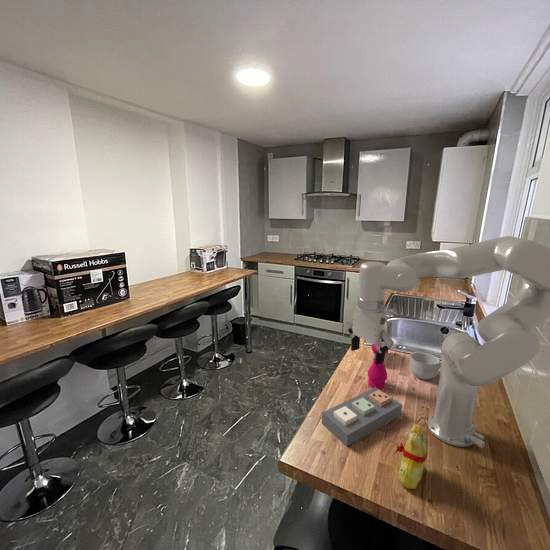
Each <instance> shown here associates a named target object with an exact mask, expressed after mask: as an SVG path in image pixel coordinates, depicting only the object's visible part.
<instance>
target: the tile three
mask: <svg viewBox="0 0 550 550" xmlns="http://www.w3.org/2000/svg"><path fill="white" fill-rule="evenodd" d="M386 394H387V393H385V392H384V393H383V391H382V390H377V391H375V392H373V393H371V394H369V400H371V401H372V402H373V403H375V404H376V405H378V406H379V407H383V406H385V405H387V404H389V403H390V402H391V398H392V397H391V396H390V395H389V394H387V395H386ZM389 396H390V397H389Z"/></svg>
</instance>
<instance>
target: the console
mask: <svg viewBox="0 0 550 550" xmlns="http://www.w3.org/2000/svg"><path fill="white" fill-rule="evenodd" d="M377 390H379V389H377V388H376V387H375V388H371V389H369V390H367V391H364V392H362V393H361V394H358V395H356V396H354V397H351V398H350V399H348V400H346V401H344V402H342V403H339V404H337V405H334V406H333V407H331V408H328V409H326V410H323V412H321V424H322V425H323V426H324V428H326V429H327V430H328V431H329V432H330V433H331V434H332V435H334V436H335V438H336V439H337V440H338V441H340V442H341V443H342V444H343V445H344V446H345V447H346V448H347V447H349V446H351V445H353V444H354V443H356V442H357V441H359V440H361V439H363V438H364V437H366V436H368V435H369V434H371V433H372V432H375V431H376V430H378V429H379V428H382V427H383V426H385V425H387V424H389V423H390V422H392V421H393V420H396V419H397V418H398V417H401V416H402V411H403V404H402V403H401V402H399V401H398V400H396V399H394V398H393V397H391V396H390V395H388V394H387V393H385V392H383V391H382V392H383V393H385V394H386V395H388V396H389V397H391V402H390V403H389V404H387V405H385V406H383V407H379V406H378V405H376V404H375V403H373V402H372V401H371V400H369V394H371V393H373V392H375V391H377ZM361 398H364V399H366V400H367V401H368V402H370V403H371V404H373V405H374V406H375V410H374V412H372V413H370V414H368V415H366V416H364V417H363V416H362V415H361V414H359V413H358V412H357V411H356V410H354V409H353V408H352V403H353V402H355V401H357V400H359V399H361ZM344 406H346V407H347V408H348V409H350V410H351V411H352V412H354V413H355V414H356V415H357V421H355V422H353V423H351V424H349V425H348V426H346V427H345V426H343V425H342V424H341V423H340V422H339V421H338V420H336V419H335V418H334V417H333V413H334V411H336V410H338V409H340V408H342V407H344Z"/></svg>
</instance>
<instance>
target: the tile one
mask: <svg viewBox="0 0 550 550" xmlns="http://www.w3.org/2000/svg"><path fill="white" fill-rule="evenodd" d="M333 417H334V418H335V419H336V420H338V421H339V422H340V423H341V424H342V425H343V426H345V427H346V426H348V425H349V424H351V423H353V422H355V421H357V415H356V414H355V413H354V412H352V411H351V410H350V409H348V408H347V407H346V406H344V407H342V408H340V409H338V410H336V411H334V413H333Z"/></svg>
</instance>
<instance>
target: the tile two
mask: <svg viewBox="0 0 550 550" xmlns="http://www.w3.org/2000/svg"><path fill="white" fill-rule="evenodd" d="M352 408H353V409H354V410H356V411H357V412H358V413H359V414H361V415H362V416H363V417H364V416H366V415H368V414H370V413H372V412H374V410H375V406H374V405H373V404H371V403H370V402H368V401H367V400H366V399H364V398H361V399H359V400H357V401H355V402H353V403H352Z"/></svg>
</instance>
